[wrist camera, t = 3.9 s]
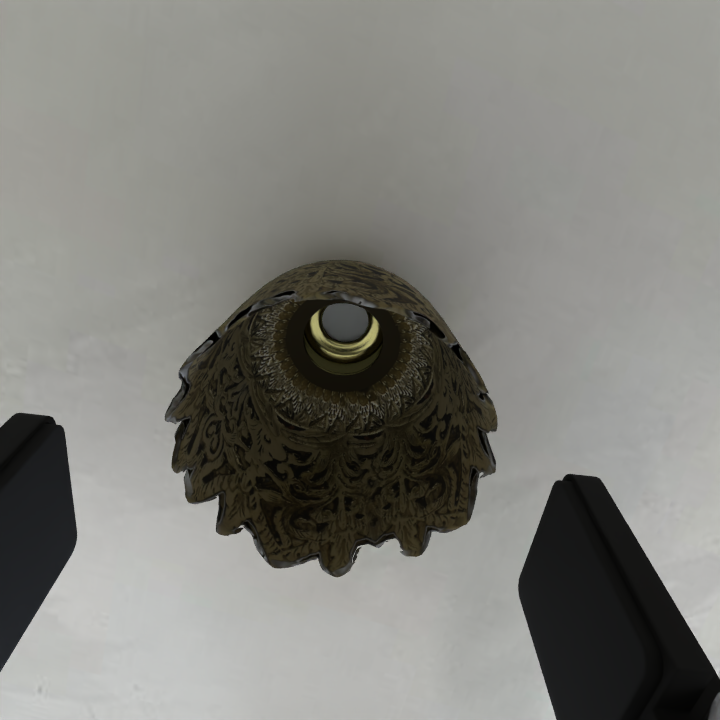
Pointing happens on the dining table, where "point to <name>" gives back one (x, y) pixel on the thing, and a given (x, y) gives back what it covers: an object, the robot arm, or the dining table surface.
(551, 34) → the dining table surface
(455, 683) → the dining table surface
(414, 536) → the dark bronze dome
